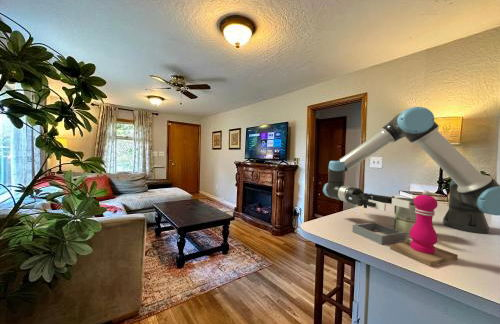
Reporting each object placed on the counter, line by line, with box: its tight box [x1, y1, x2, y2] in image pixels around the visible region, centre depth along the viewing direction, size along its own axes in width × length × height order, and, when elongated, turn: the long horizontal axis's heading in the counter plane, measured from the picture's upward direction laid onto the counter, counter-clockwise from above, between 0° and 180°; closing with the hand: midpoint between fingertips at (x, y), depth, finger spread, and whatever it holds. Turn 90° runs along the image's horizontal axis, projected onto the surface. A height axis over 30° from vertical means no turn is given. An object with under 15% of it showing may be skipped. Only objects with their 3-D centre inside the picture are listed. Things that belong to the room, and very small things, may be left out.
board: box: [389, 240, 459, 268], centre depth 69 cm, size 14×12×2 cm
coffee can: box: [392, 197, 417, 237], centre depth 88 cm, size 10×10×14 cm
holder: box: [351, 221, 406, 245], centre depth 83 cm, size 13×13×3 cm
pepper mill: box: [409, 190, 439, 254], centre depth 68 cm, size 7×7×20 cm
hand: (397, 206), depth 76 cm, fingers open, 13 cm apart
